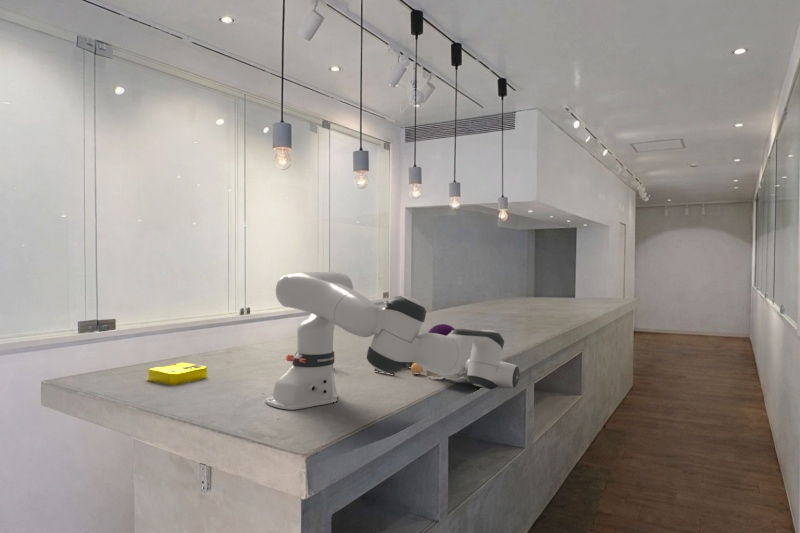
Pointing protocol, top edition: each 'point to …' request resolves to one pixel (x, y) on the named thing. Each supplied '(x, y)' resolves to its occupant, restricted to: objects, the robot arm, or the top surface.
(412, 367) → the ball
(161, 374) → the element tile
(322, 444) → the top surface
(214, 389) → the top surface
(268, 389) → the top surface
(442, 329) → the toy ball
